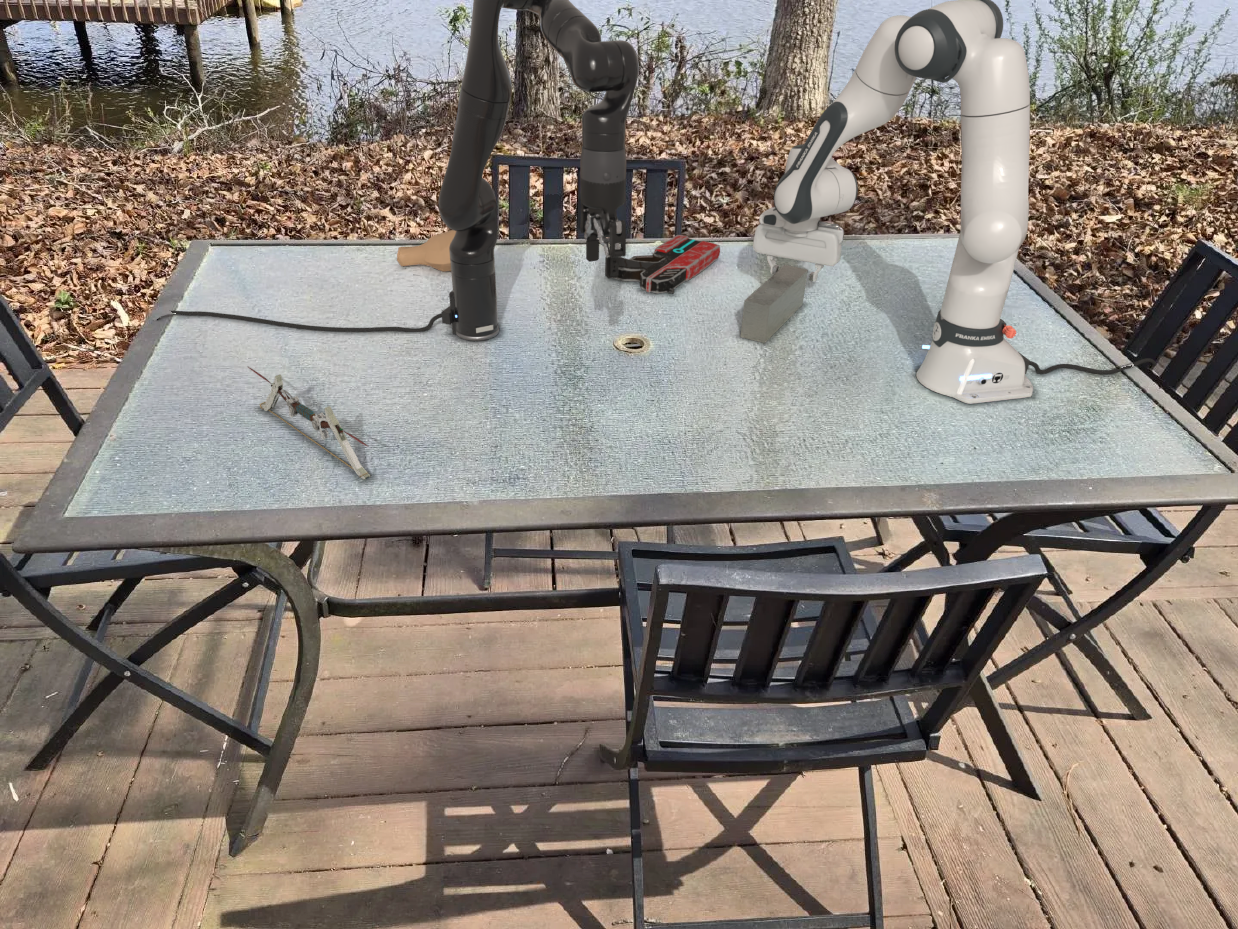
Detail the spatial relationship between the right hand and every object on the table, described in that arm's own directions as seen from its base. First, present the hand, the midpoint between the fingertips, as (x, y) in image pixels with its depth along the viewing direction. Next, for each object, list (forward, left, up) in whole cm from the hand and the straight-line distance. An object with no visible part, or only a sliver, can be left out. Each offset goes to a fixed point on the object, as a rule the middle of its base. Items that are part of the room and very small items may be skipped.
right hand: (793, 276), depth 204 cm
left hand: (+47, +45, +19) cm, 68 cm away
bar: (+5, +7, -8) cm, 12 cm away
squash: (+86, -25, -8) cm, 90 cm away
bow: (+98, +58, -8) cm, 114 cm away
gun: (+28, -23, -8) cm, 37 cm away
